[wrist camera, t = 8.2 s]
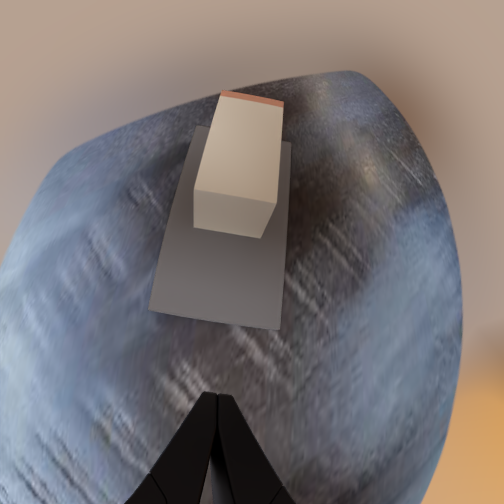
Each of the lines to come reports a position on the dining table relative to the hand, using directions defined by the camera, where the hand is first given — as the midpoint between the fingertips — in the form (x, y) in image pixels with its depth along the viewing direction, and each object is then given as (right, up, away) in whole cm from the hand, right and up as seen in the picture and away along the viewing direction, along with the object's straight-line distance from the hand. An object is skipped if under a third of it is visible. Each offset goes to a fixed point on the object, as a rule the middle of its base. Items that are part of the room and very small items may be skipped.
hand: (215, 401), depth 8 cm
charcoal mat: (-1, +7, +16) cm, 17 cm away
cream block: (0, +7, +12) cm, 14 cm away
